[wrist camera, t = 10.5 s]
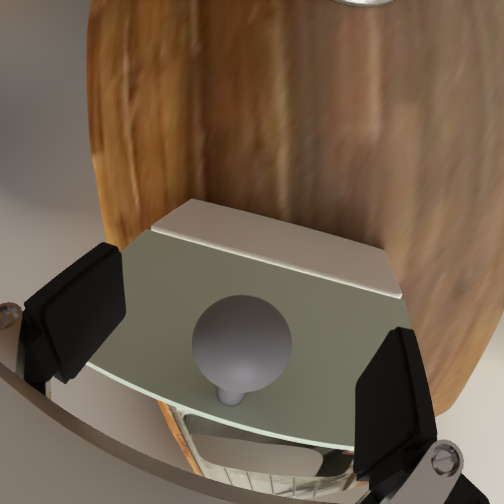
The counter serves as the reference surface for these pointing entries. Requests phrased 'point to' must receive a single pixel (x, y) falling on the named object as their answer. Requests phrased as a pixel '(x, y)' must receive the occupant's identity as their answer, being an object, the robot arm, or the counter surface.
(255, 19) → the counter surface
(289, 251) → the carton
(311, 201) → the counter surface
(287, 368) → the lid flap
